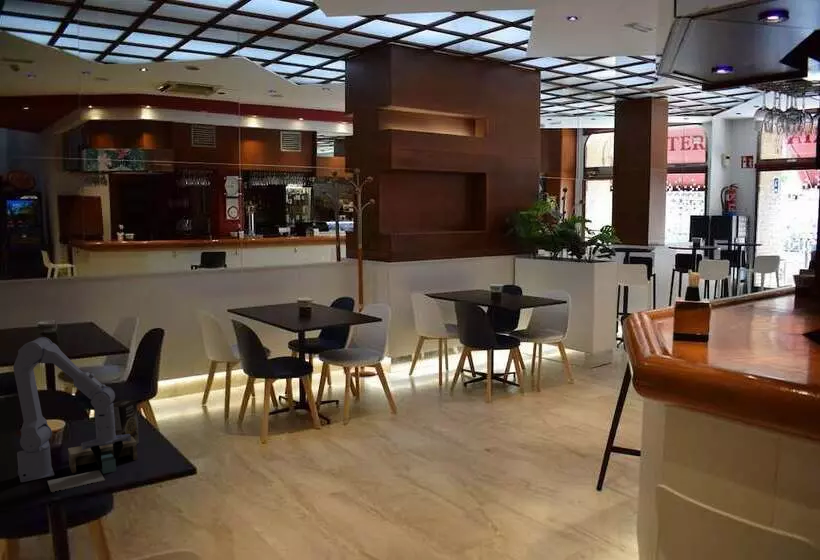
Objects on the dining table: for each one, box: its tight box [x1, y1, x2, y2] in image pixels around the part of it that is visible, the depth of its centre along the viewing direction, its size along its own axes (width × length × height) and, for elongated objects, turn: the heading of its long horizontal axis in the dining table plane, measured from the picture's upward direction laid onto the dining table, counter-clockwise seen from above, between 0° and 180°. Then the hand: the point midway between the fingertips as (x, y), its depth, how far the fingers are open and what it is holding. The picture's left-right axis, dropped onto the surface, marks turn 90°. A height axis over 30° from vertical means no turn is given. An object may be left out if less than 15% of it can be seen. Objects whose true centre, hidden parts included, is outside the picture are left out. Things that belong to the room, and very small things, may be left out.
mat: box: [47, 469, 106, 493], centre depth 214 cm, size 15×10×1 cm, turn 123°
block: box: [95, 451, 117, 475], centre depth 226 cm, size 4×12×4 cm, turn 33°
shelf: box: [67, 436, 138, 474], centre depth 229 cm, size 20×7×6 cm, turn 123°
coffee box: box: [112, 399, 140, 445], centre depth 245 cm, size 9×6×16 cm
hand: (108, 466), depth 223 cm, fingers closed on block, 4 cm apart
